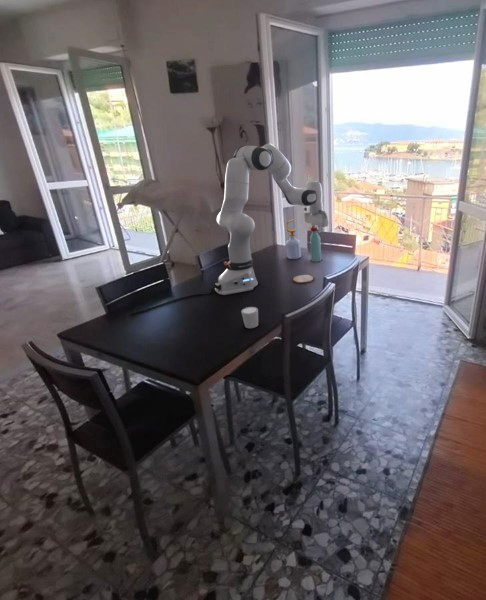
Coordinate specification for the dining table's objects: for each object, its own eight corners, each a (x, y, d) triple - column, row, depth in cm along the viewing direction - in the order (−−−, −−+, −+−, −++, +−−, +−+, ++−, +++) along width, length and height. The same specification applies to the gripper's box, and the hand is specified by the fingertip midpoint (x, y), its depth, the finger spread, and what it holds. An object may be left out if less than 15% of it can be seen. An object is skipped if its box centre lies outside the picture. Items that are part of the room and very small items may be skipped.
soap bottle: (300, 259, 228) (297, 221, 218) (286, 259, 228) (282, 221, 218) (301, 254, 236) (299, 217, 226) (288, 255, 237) (285, 218, 226)
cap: (313, 229, 220) (312, 226, 220) (319, 229, 218) (318, 226, 218) (309, 231, 217) (309, 228, 216) (315, 231, 215) (314, 228, 214)
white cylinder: (253, 319, 154) (250, 305, 151) (263, 324, 150) (261, 309, 147) (240, 325, 149) (237, 311, 146) (250, 330, 145) (248, 315, 142)
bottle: (314, 262, 222) (312, 231, 213) (309, 259, 227) (307, 229, 218) (323, 260, 225) (321, 229, 217) (317, 257, 230) (316, 227, 222)
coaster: (299, 285, 188) (299, 283, 188) (289, 279, 197) (289, 277, 196) (317, 280, 194) (317, 278, 194) (307, 274, 202) (307, 273, 202)
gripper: (330, 210, 208) (331, 233, 214) (310, 206, 222) (311, 228, 228) (321, 212, 204) (322, 235, 210) (301, 207, 219) (303, 229, 225)
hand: (316, 231), depth 219 cm, fingers closed on cap, 3 cm apart
